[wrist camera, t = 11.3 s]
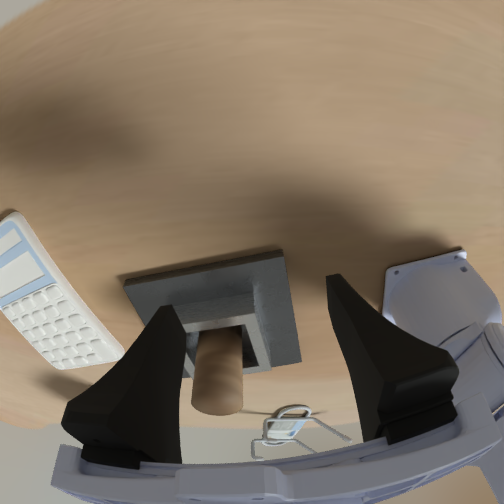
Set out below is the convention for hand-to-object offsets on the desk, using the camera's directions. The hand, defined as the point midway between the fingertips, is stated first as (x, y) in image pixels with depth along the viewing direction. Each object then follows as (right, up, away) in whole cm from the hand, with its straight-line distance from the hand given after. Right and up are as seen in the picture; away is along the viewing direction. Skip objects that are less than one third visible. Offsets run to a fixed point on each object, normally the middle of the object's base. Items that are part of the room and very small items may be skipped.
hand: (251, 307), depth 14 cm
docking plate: (-3, -4, +15) cm, 16 cm away
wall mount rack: (+7, -25, +29) cm, 40 cm away
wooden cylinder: (-3, -5, +14) cm, 15 cm away
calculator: (-24, -3, +14) cm, 28 cm away
